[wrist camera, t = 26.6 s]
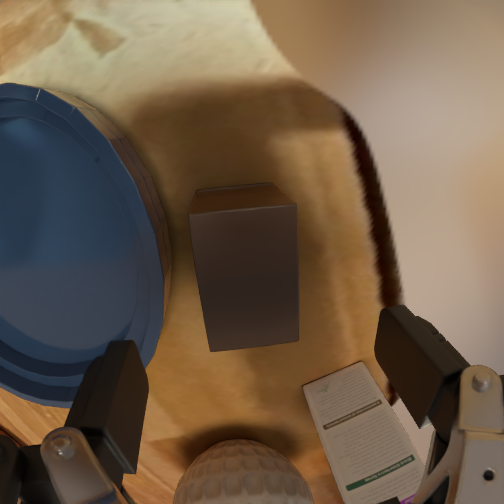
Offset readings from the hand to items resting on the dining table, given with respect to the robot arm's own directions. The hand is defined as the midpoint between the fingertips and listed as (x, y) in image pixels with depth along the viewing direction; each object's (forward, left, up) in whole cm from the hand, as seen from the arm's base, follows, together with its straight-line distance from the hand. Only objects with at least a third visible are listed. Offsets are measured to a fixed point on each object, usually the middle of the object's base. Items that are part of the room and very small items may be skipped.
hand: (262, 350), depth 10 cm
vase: (+23, -2, -11) cm, 26 cm away
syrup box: (+15, +8, -11) cm, 20 cm away
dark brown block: (0, 0, -11) cm, 11 cm away
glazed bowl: (-1, -15, -11) cm, 19 cm away
